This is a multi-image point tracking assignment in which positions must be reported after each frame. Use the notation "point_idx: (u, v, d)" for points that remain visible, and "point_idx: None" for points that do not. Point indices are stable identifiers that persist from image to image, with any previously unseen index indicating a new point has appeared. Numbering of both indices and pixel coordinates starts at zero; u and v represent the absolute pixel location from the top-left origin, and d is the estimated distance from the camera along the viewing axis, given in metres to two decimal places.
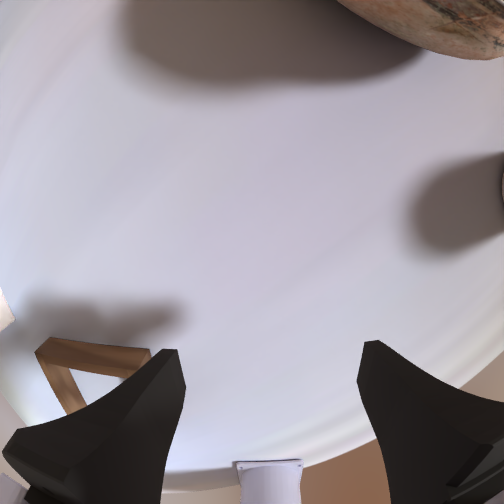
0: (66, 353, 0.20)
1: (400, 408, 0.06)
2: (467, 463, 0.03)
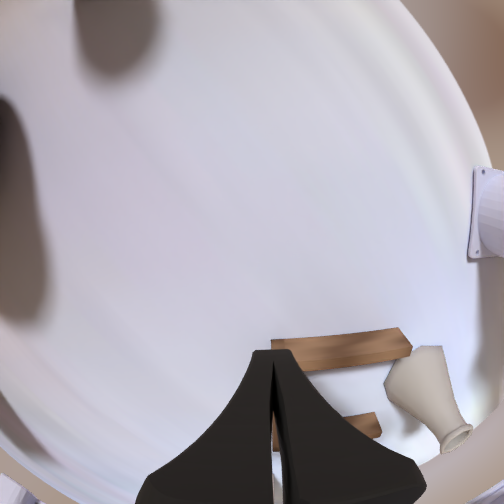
0: None
1: (283, 426, 0.07)
2: None
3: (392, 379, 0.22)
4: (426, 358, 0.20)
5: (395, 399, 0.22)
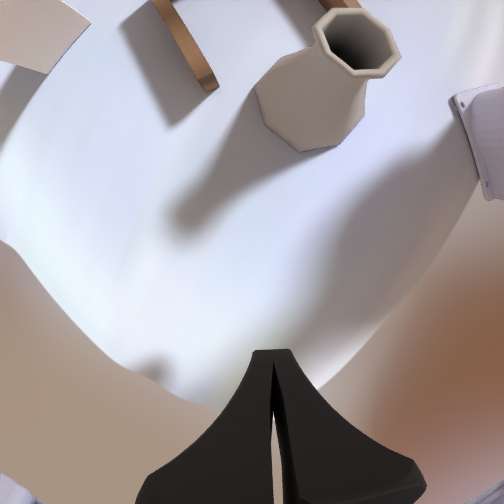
0: None
1: (283, 426, 0.07)
2: None
3: None
4: None
5: (274, 68, 0.14)
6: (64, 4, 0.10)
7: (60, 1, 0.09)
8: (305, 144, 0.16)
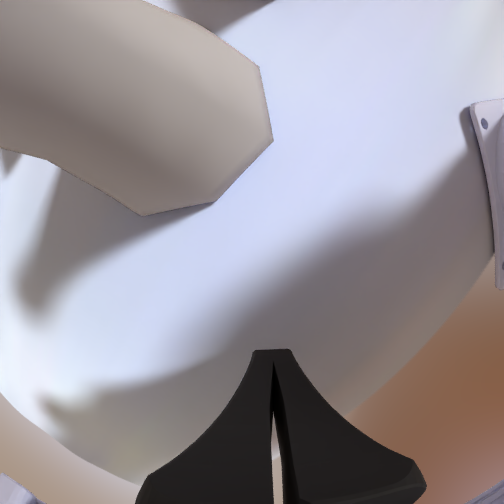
0: None
1: (283, 426, 0.07)
2: None
3: None
4: None
5: None
6: None
7: None
8: (135, 209, 0.09)
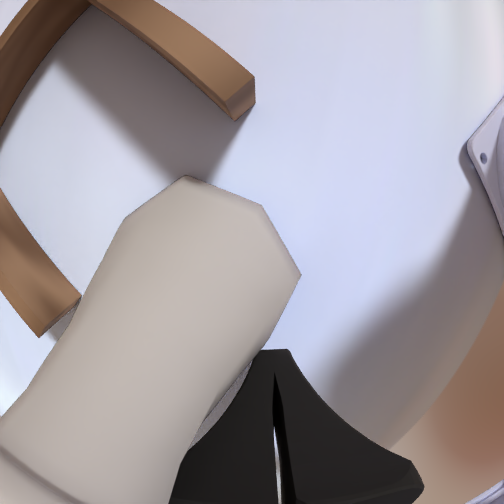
0: None
1: (281, 426, 0.07)
2: None
3: (141, 208, 0.09)
4: (248, 222, 0.08)
5: None
6: None
7: None
8: None
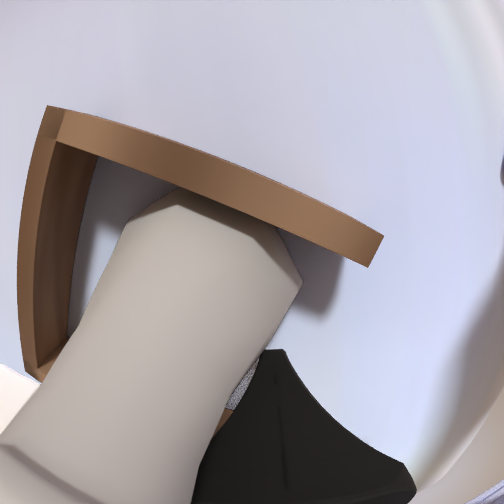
0: None
1: None
2: None
3: (147, 210, 0.09)
4: (255, 228, 0.09)
5: None
6: None
7: None
8: None
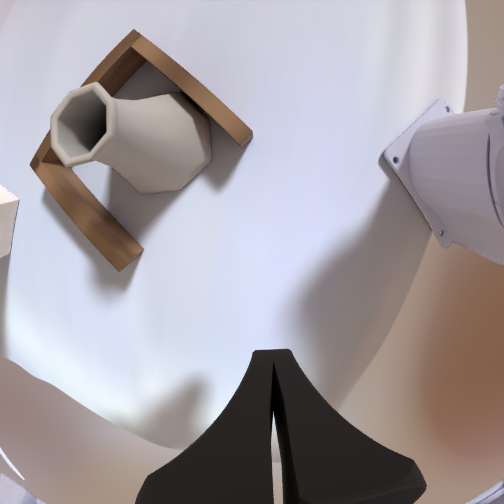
0: None
1: (283, 426, 0.07)
2: None
3: None
4: (196, 118, 0.16)
5: None
6: None
7: None
8: (139, 190, 0.17)
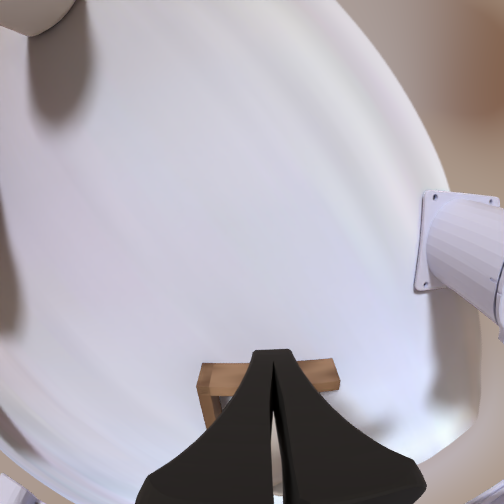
0: None
1: (283, 426, 0.07)
2: None
3: None
4: None
5: None
6: None
7: None
8: None
